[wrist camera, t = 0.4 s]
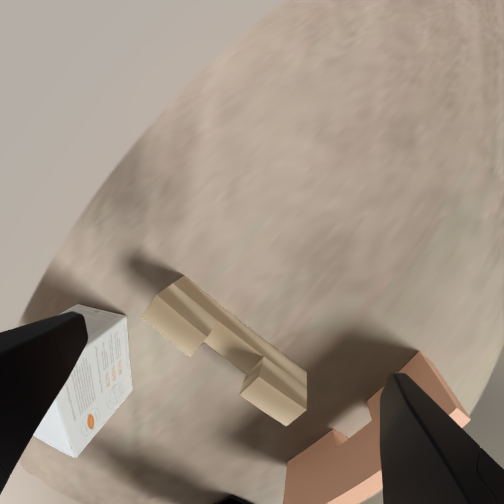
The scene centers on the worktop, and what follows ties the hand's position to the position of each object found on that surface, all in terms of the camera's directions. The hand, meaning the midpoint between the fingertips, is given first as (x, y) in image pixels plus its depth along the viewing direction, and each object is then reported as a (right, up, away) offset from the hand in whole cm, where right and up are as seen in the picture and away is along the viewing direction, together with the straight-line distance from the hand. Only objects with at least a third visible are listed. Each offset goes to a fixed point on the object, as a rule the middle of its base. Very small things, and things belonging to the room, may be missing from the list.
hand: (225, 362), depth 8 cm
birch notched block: (0, -3, +16) cm, 16 cm away
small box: (-13, -6, +18) cm, 23 cm away
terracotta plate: (+10, -12, +16) cm, 22 cm away
